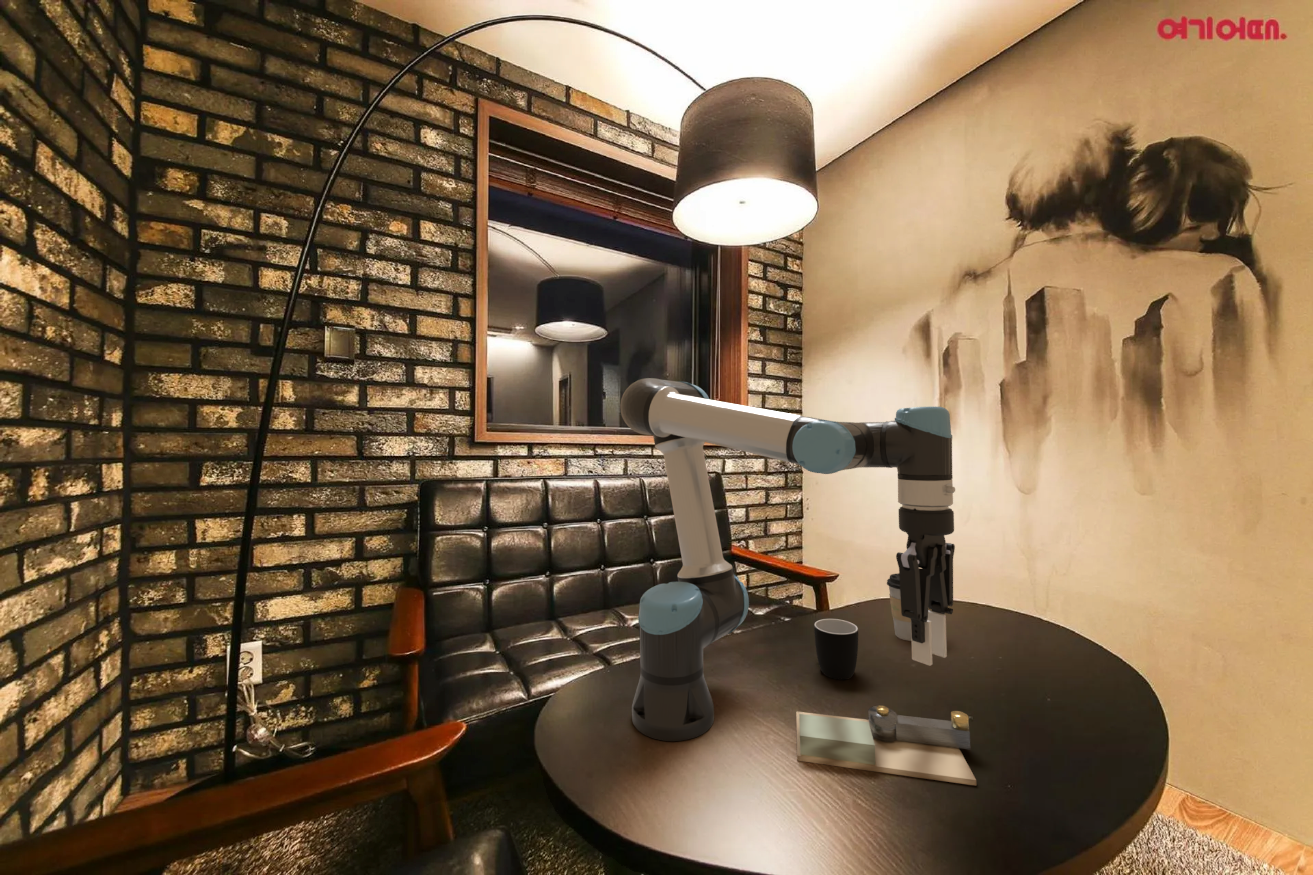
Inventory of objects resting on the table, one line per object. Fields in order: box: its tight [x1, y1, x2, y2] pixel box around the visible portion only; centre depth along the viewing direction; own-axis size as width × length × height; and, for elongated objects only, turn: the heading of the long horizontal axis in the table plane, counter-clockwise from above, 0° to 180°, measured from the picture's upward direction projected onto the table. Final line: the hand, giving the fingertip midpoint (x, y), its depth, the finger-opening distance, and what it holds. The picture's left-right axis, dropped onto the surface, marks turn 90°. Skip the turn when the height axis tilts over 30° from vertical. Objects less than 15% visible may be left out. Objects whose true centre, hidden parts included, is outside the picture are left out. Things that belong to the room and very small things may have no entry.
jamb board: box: [795, 711, 977, 786], centre depth 81 cm, size 25×13×4 cm, turn 75°
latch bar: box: [867, 705, 971, 750], centre depth 81 cm, size 15×4×5 cm, turn 75°
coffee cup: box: [886, 572, 911, 642], centre depth 125 cm, size 9×9×15 cm
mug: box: [813, 618, 859, 680], centre depth 108 cm, size 12×9×10 cm
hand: (929, 657), depth 76 cm, fingers open, 4 cm apart
